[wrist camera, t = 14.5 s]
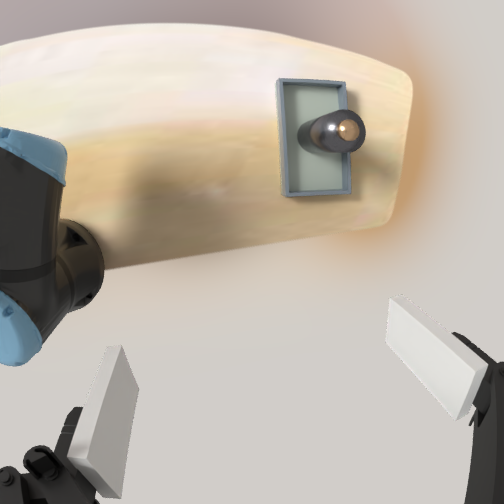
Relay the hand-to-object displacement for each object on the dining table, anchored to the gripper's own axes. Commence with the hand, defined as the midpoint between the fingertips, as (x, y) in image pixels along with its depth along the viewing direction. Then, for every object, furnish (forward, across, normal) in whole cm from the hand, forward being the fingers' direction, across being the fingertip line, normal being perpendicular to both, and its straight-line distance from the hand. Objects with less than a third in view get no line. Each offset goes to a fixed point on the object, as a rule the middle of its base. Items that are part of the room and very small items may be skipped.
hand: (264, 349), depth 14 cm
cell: (+33, -15, -10) cm, 37 cm away
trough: (+33, -15, -10) cm, 38 cm away
